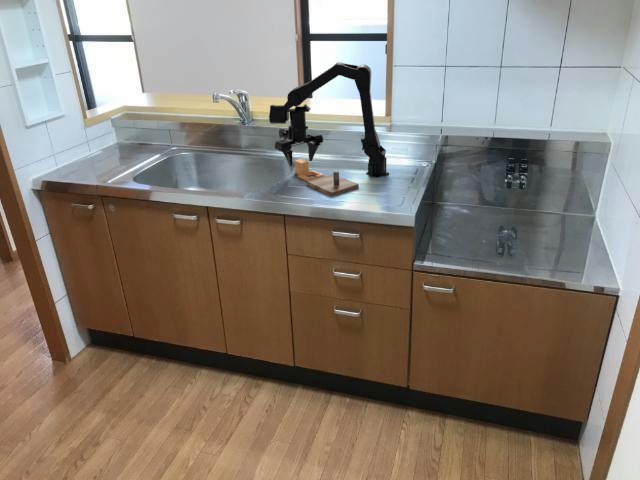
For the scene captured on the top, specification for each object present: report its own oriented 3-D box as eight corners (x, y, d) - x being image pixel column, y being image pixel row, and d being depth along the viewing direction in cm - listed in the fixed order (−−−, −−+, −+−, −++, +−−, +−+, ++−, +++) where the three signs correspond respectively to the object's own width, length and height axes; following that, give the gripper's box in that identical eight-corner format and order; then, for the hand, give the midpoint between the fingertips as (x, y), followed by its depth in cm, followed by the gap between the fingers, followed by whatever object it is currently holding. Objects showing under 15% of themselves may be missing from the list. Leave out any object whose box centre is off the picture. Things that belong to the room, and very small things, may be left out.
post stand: (358, 188, 183) (358, 171, 180) (331, 196, 177) (330, 179, 174) (333, 177, 194) (332, 162, 191) (306, 185, 188) (306, 169, 185)
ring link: (324, 177, 195) (323, 164, 192) (308, 181, 191) (308, 168, 189) (306, 170, 203) (305, 157, 201) (291, 174, 200) (290, 161, 198)
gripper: (306, 115, 202) (308, 154, 209) (265, 124, 193) (269, 164, 200) (323, 120, 194) (324, 160, 201) (281, 129, 185) (284, 171, 191)
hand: (300, 163), depth 198 cm, fingers open, 9 cm apart
